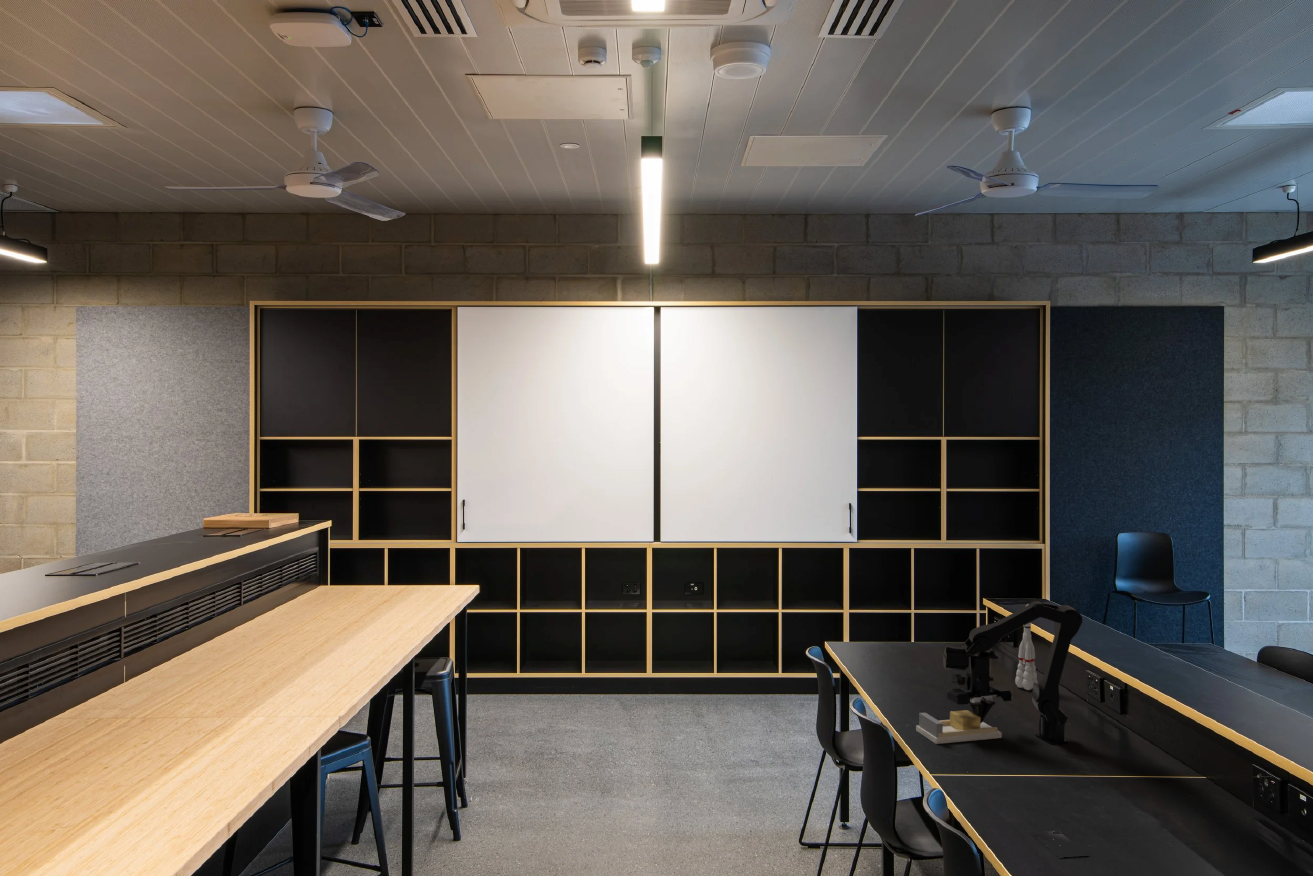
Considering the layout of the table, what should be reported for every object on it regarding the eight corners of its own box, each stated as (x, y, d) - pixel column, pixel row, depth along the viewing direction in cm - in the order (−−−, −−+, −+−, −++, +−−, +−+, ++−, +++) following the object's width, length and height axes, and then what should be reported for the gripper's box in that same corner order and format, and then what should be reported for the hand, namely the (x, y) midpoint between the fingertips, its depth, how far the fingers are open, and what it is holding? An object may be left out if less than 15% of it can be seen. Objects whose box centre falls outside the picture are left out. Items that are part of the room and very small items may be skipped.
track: (979, 725, 233) (979, 707, 233) (1001, 737, 223) (1002, 719, 223) (916, 730, 227) (916, 712, 227) (936, 744, 218) (936, 725, 218)
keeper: (967, 723, 230) (967, 710, 229) (980, 731, 224) (980, 717, 224) (949, 724, 228) (950, 711, 228) (962, 732, 222) (962, 719, 222)
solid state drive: (1059, 860, 159) (1059, 857, 159) (1029, 835, 169) (1029, 832, 169) (1089, 858, 160) (1089, 855, 160) (1058, 833, 170) (1058, 830, 170)
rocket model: (1012, 684, 272) (1014, 601, 272) (1034, 686, 271) (1036, 602, 270) (1017, 691, 265) (1019, 605, 265) (1040, 693, 263) (1042, 606, 263)
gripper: (989, 661, 237) (987, 711, 237) (936, 665, 233) (935, 715, 233) (1014, 673, 226) (1012, 725, 226) (959, 676, 222) (958, 729, 222)
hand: (978, 723), depth 227 cm, fingers closed
